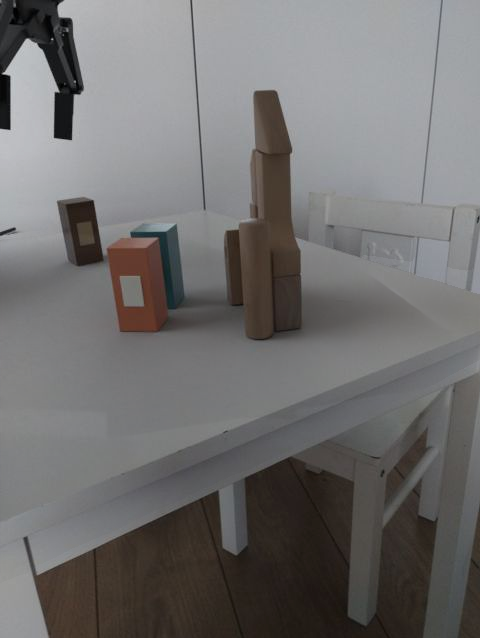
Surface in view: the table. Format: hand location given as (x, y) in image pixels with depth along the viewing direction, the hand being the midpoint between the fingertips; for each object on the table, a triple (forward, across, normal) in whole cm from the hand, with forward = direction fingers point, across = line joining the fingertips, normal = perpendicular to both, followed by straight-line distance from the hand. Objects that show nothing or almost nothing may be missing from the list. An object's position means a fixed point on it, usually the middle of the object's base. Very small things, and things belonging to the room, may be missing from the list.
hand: (33, 134), depth 80 cm
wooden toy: (+18, -7, -38) cm, 43 cm away
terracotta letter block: (+20, -12, -25) cm, 35 cm away
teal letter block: (+19, -5, -24) cm, 31 cm away
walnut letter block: (+19, +12, -1) cm, 22 cm away
